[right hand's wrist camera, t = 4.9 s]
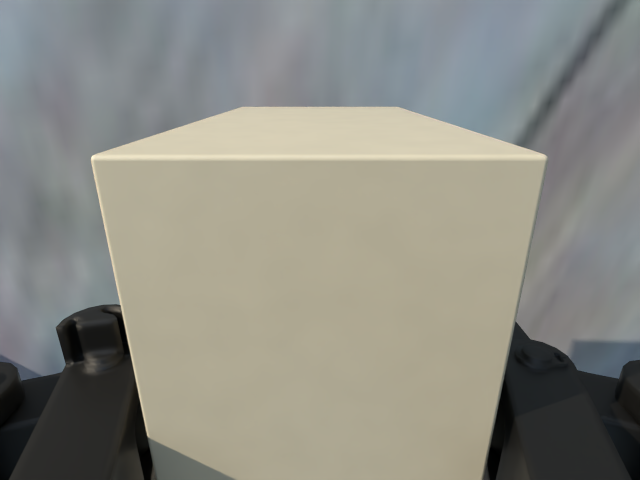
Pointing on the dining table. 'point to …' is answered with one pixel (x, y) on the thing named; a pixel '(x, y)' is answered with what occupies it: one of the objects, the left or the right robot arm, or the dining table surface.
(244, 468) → the cream beam
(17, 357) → the dining table surface
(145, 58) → the dining table surface
